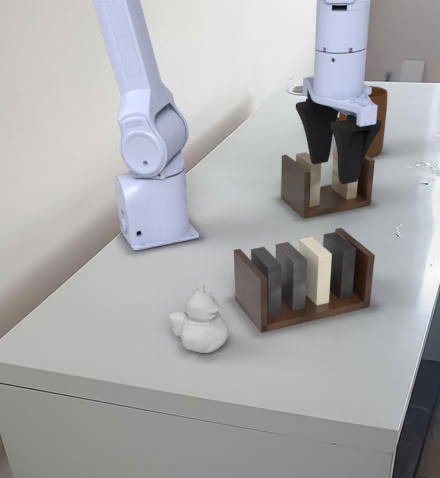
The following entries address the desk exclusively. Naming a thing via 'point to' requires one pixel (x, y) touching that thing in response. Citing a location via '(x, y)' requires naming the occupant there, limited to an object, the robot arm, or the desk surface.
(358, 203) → the brown wooden book rack
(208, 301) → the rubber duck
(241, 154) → the desk surface
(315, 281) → the white book
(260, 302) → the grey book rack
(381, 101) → the mug
